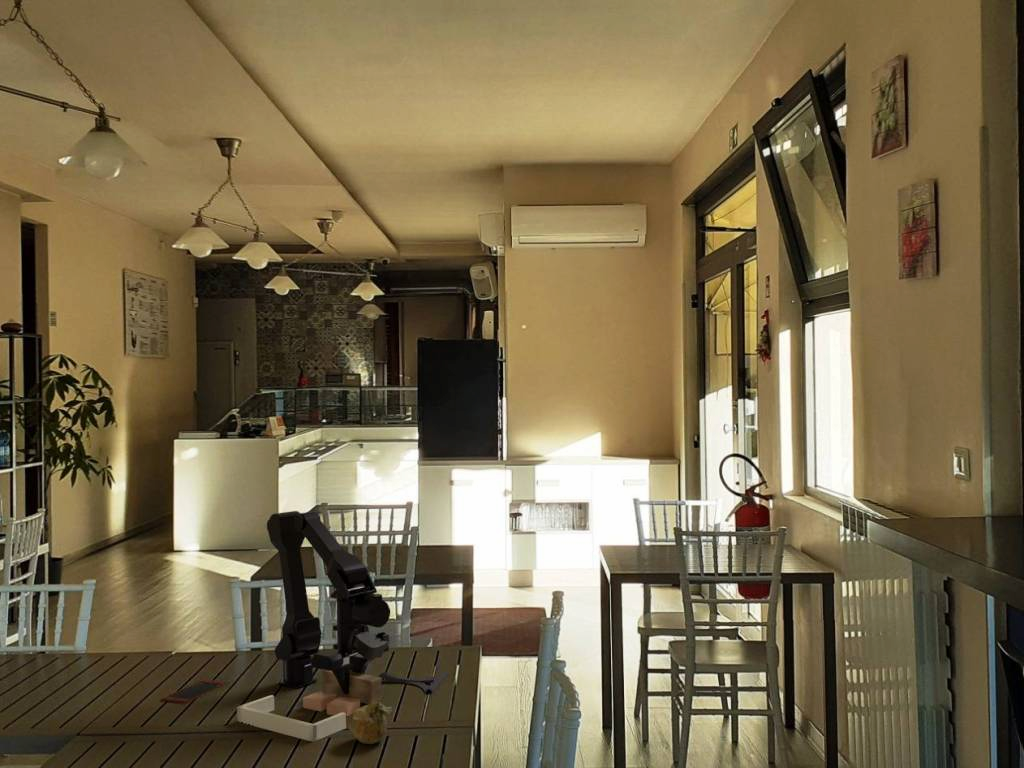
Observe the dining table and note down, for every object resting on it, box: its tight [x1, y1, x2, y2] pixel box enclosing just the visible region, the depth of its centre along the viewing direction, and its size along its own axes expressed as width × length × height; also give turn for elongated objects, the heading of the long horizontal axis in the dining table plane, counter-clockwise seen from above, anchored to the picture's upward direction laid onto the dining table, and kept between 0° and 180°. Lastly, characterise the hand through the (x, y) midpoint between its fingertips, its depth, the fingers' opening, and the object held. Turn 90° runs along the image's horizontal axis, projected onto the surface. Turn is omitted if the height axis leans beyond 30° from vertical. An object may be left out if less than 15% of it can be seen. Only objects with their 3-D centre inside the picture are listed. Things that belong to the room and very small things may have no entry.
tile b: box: [326, 697, 361, 718], centre depth 212 cm, size 5×5×2 cm
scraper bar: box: [321, 669, 383, 705], centre depth 219 cm, size 15×3×5 cm, turn 54°
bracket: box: [377, 669, 449, 694], centre depth 232 cm, size 14×15×3 cm
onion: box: [347, 702, 394, 745], centre depth 194 cm, size 8×8×8 cm
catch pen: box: [236, 694, 347, 743], centre depth 205 cm, size 22×9×3 cm, turn 55°
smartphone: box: [160, 679, 229, 704], centre depth 228 cm, size 7×1×15 cm
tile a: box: [302, 690, 338, 712], centre depth 216 cm, size 5×5×2 cm
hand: (351, 691), depth 219 cm, fingers closed on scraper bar, 3 cm apart
